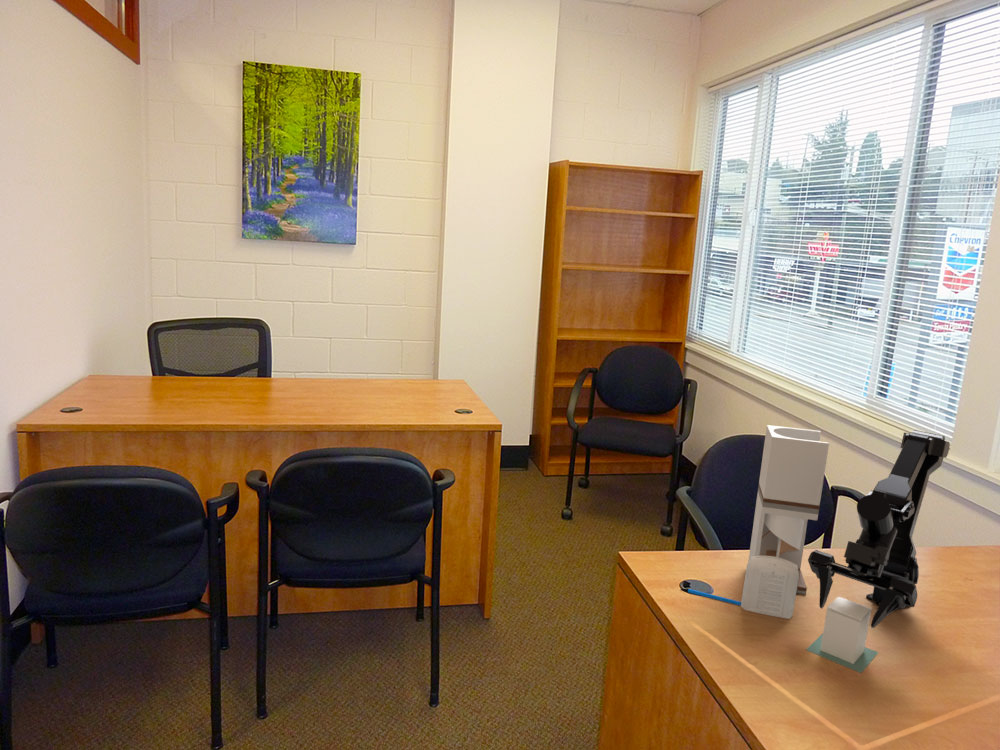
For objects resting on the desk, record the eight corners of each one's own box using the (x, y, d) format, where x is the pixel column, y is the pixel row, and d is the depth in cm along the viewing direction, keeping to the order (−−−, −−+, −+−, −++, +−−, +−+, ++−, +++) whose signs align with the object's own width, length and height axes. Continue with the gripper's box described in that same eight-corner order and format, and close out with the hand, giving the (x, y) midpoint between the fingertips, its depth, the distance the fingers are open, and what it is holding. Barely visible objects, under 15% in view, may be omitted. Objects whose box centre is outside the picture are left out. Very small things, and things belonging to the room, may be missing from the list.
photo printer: (791, 613, 156) (800, 558, 154) (793, 623, 152) (801, 566, 150) (740, 603, 159) (747, 549, 157) (740, 612, 155) (748, 557, 153)
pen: (771, 614, 156) (772, 610, 155) (679, 591, 163) (680, 586, 163) (771, 612, 156) (772, 608, 156) (680, 589, 164) (681, 585, 164)
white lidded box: (831, 638, 146) (838, 596, 144) (864, 651, 142) (871, 608, 140) (820, 650, 141) (827, 606, 140) (853, 663, 137) (860, 619, 136)
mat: (824, 633, 149) (824, 631, 149) (877, 655, 142) (878, 652, 142) (805, 652, 141) (805, 649, 141) (860, 675, 135) (861, 672, 135)
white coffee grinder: (751, 587, 166) (772, 436, 160) (747, 567, 177) (766, 424, 170) (805, 596, 164) (829, 443, 157) (798, 575, 174) (820, 430, 167)
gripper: (818, 510, 146) (788, 580, 140) (924, 541, 134) (896, 619, 128) (827, 537, 153) (798, 604, 147) (928, 569, 141) (901, 644, 135)
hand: (845, 617), depth 139 cm, fingers open, 9 cm apart
